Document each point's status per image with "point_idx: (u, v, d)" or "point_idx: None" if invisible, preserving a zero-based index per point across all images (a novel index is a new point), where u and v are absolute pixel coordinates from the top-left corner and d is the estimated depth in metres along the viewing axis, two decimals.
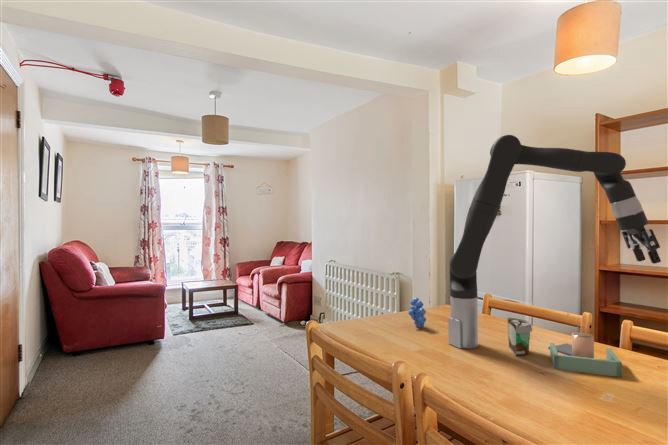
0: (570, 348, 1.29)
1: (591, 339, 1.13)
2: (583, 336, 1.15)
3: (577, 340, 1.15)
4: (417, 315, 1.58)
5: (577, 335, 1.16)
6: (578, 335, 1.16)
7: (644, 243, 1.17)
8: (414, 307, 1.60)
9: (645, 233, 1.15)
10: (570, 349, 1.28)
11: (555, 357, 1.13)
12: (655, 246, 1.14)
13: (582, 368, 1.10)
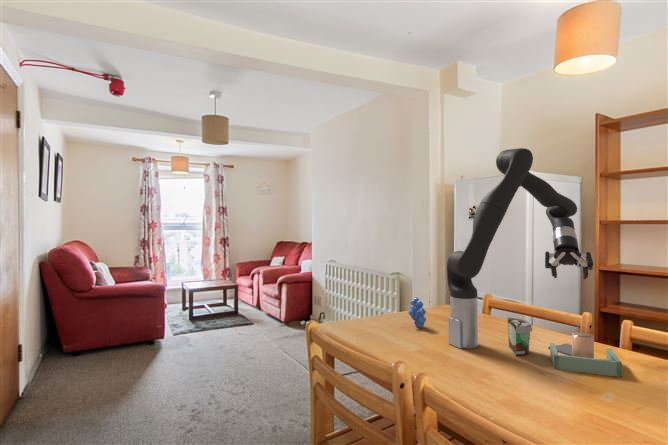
0: (570, 348, 1.29)
1: (591, 339, 1.13)
2: (583, 336, 1.15)
3: (577, 340, 1.15)
4: (417, 315, 1.58)
5: (577, 335, 1.16)
6: (578, 335, 1.16)
7: None
8: (414, 307, 1.60)
9: None
10: (570, 349, 1.28)
11: (555, 357, 1.13)
12: None
13: (582, 368, 1.10)
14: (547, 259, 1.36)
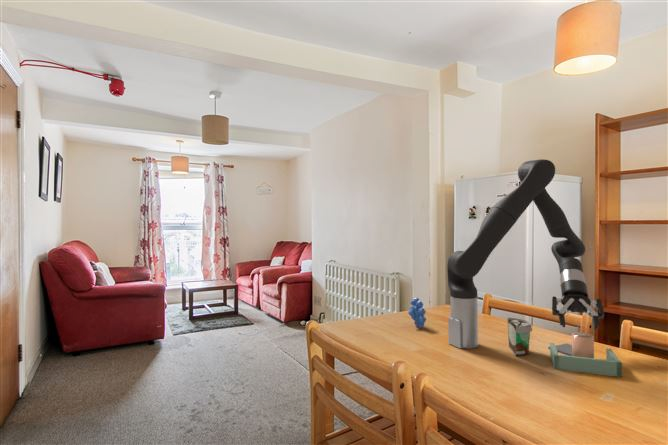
0: (570, 348, 1.29)
1: (591, 339, 1.13)
2: (583, 336, 1.15)
3: (577, 340, 1.15)
4: (417, 315, 1.58)
5: (577, 335, 1.16)
6: (578, 335, 1.16)
7: None
8: (414, 307, 1.60)
9: None
10: (570, 349, 1.28)
11: (555, 357, 1.13)
12: None
13: (582, 368, 1.10)
14: (554, 305, 1.27)
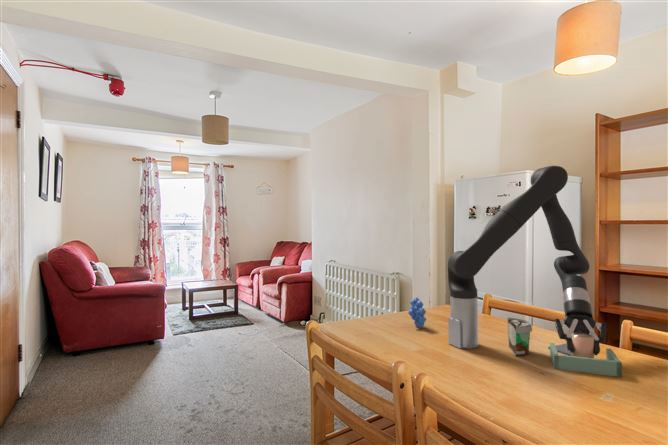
0: None
1: (591, 339, 1.13)
2: (583, 336, 1.15)
3: (577, 340, 1.15)
4: (417, 315, 1.58)
5: (577, 335, 1.16)
6: (578, 335, 1.16)
7: None
8: (414, 307, 1.61)
9: None
10: None
11: (555, 357, 1.13)
12: None
13: (582, 368, 1.10)
14: (560, 329, 1.20)
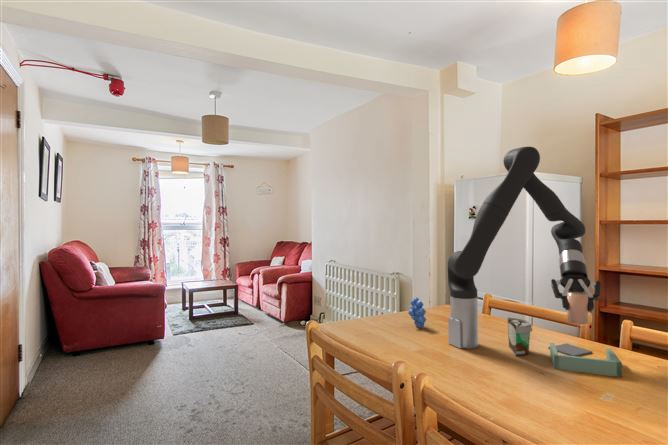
0: (570, 348, 1.29)
1: (585, 296, 1.17)
2: (578, 293, 1.19)
3: (572, 297, 1.19)
4: (417, 315, 1.58)
5: (572, 293, 1.20)
6: (572, 293, 1.20)
7: None
8: (414, 307, 1.60)
9: (600, 283, 1.21)
10: (570, 349, 1.28)
11: (555, 357, 1.13)
12: None
13: (582, 368, 1.10)
14: (556, 288, 1.24)
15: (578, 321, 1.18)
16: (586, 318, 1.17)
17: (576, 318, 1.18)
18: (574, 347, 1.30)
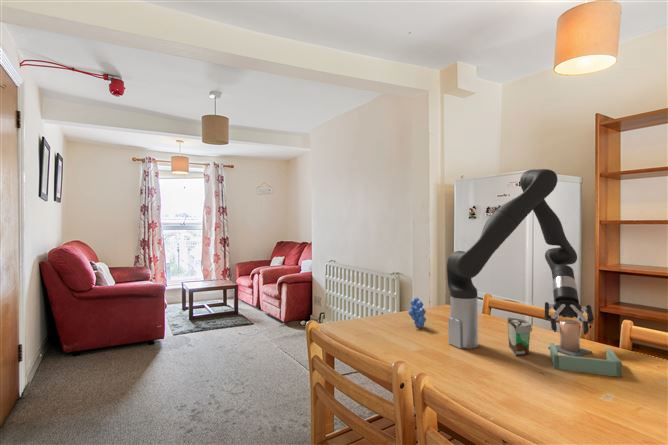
0: None
1: (576, 325, 1.25)
2: (569, 323, 1.27)
3: (564, 326, 1.27)
4: (417, 315, 1.58)
5: (564, 322, 1.28)
6: (565, 322, 1.28)
7: None
8: (414, 307, 1.61)
9: None
10: None
11: (555, 357, 1.13)
12: None
13: (582, 368, 1.10)
14: (547, 311, 1.33)
15: (570, 349, 1.26)
16: (577, 346, 1.26)
17: (568, 346, 1.26)
18: None
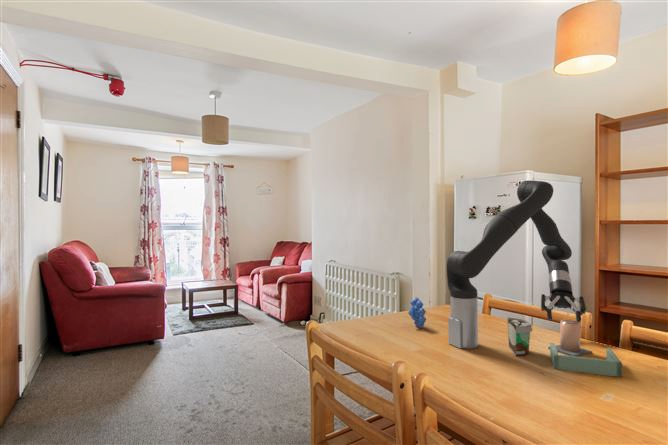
0: None
1: (576, 326, 1.25)
2: (570, 323, 1.27)
3: (564, 326, 1.27)
4: (417, 315, 1.58)
5: (565, 322, 1.28)
6: (565, 322, 1.28)
7: None
8: (414, 307, 1.60)
9: None
10: None
11: (555, 357, 1.13)
12: None
13: (582, 368, 1.10)
14: (543, 302, 1.45)
15: (569, 349, 1.26)
16: (577, 346, 1.26)
17: (568, 346, 1.26)
18: None
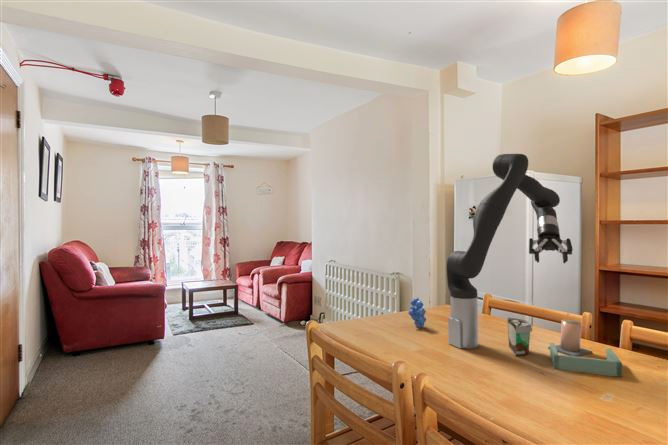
0: None
1: (577, 325, 1.25)
2: (570, 322, 1.27)
3: (564, 325, 1.27)
4: (417, 315, 1.58)
5: (565, 321, 1.28)
6: (566, 321, 1.28)
7: None
8: (414, 307, 1.60)
9: None
10: None
11: (555, 357, 1.13)
12: None
13: (582, 368, 1.10)
14: (531, 245, 1.47)
15: (569, 348, 1.26)
16: (577, 346, 1.26)
17: (567, 345, 1.26)
18: None
